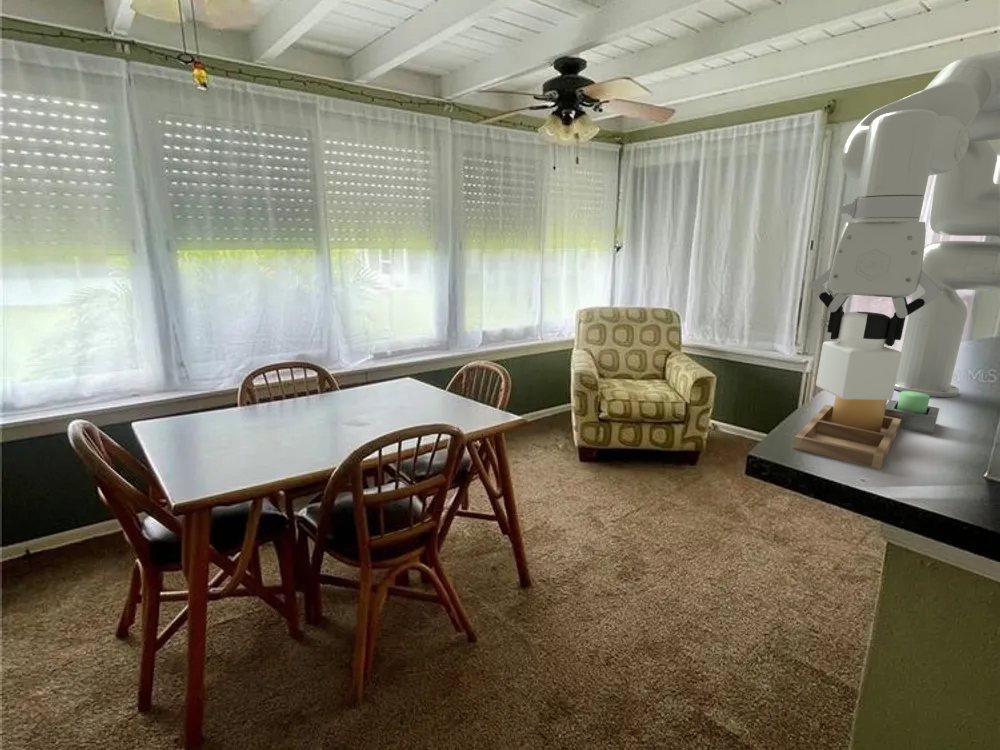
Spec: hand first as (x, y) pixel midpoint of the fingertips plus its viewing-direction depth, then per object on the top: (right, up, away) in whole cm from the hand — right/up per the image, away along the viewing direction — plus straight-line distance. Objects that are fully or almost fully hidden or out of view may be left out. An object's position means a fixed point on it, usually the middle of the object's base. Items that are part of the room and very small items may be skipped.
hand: (862, 340), depth 76 cm
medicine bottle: (0, -8, +2) cm, 8 cm away
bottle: (+7, -14, +12) cm, 20 cm away
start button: (+18, -12, +14) cm, 26 cm away
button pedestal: (+18, -15, +15) cm, 28 cm away
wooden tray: (+4, -16, +8) cm, 19 cm away
